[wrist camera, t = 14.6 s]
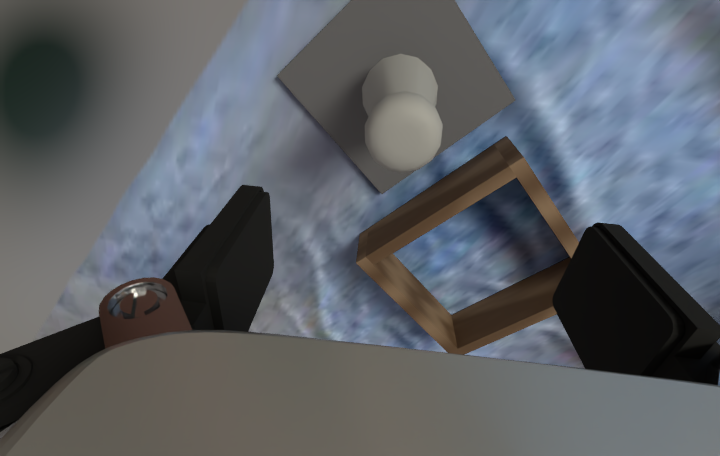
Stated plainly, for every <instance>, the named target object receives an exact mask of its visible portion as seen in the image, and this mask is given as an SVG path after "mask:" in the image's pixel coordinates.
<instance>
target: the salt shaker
mask: <svg viewBox="0 0 720 456" xmlns="http://www.w3.org/2000/svg"><path fill="white" fill-rule="evenodd" d="M437 90H438V85H437V83H436V80H435V77H434V75H433V72H432V70H431V69H430V68H429V67H428V66H427V65H426V64H425V63H424V62H422V61H421V60H420V59H419V58H417V57H413V56H409V55H404V54H398V55H394V56H390V57H386V58H383V59H382V60H381V61H380V62H378V63H377V64H376V65H375V66H374V67H373V68H372V69H371V70H370V71H369V73H368V75H367V77H366V80H365V82H364V84H363V86H362V97H363V106H364V108H365V110H366V112H367V115H368V119H367V121H366V123H365V143H366V146H367V148H368V150H369V152H370V154H371V156H372V158H373V160H374V161H375V162H377V163H378V164H380V165H381V166H382V167H384V168H385V169H386V170H391V171H395V172H400V173H405V172H409V171H414V170H418V169H420V168H421V167H423V166H424V165H426V164H427V163H429V162H430V161H431V160H432V159H433V158H434V156H435V154H436V152H437V151H438V149H439V147H440V145H441V137H442V128H443V124H442V122H441V119H440V117H439V114H438V112H437V110H436V108H435V106H436V102H437Z"/></svg>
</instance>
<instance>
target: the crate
mask: <svg viewBox="0 0 720 456" xmlns="http://www.w3.org/2000/svg"><path fill="white" fill-rule="evenodd" d="M516 177H517V179H518V180H519V182H520V183H521V185H522V186H523V188H524V189H525V191H526V192H527V194H528V195H529V197H530V198H531V200H532V201H533V203H534V204H535V206H536V207H537V209H538V210H539V211H540V213H541V214H542V216H543V217H544V219H545V220H546V222H547V223H548V225H549V226H550V228H551V229H552V231H553V232H554V234H555V235H556V237H557V238H558V240H559V241H560V243H561V244H562V246H563V247H564V248H565V250H566V251H567V253H568V254H569V256H570V257H569V258H567V259H565V260H563V261H561V262H559V263H557V264H555V265H553V266H551V267H549V268H547V269H545V270H542V271H540V272H538V273H536V274H534V275H532V276H530V277H528V278H526V279H524V280H522V281H520V282H518V283H516V284H514V285H512V286H510V287H508V288H506V289H504V290H502V291H500V292H498V293H496V294H494V295H492V296H490V297H488V298H485V299H483V300H481V301H479V302H477V303H475V304H473V305H471V306H469V307H467V308H465V309H463V310H461V311H459V312H457V313H455V314H453V315H451V314H450V313H449V312H448V311H447V310H446V309H445V308H444V307H443V306H442V305H441V304H440V303H439V302H438V301H437V300H436V299H435V298H434V297H433V295H432V294H431V293H430V292H429V291H428V290H427V289H426V288H425V287H424V286H423V285H422V284H421V283H420V282H419V281H418V280H417V279H416V278H415V277H414V276H413V274H412V273H411V272H410V271H409V270H408V269H407V268H406V267H405V266H404V265H403V264H402V263H401V262H400V261H399V260H398V259H397V258H396V257H395V256H394V255H393V253H394V252H396V251H397V250H399V249H401V248H402V247H404V246H405V245H407V244H409V243H410V242H412V241H414V240H415V239H417V238H419V237H420V236H422V235H423V234H425V233H427V232H428V231H430V230H432V229H433V228H435V227H436V226H438V225H440V224H441V223H443V222H445V221H446V220H448V219H449V218H451V217H453V216H454V215H456V214H458V213H459V212H461V211H463V210H464V209H466V208H467V207H469V206H471V205H472V204H474V203H476V202H477V201H479V200H480V199H482V198H484V197H485V196H487V195H489V194H490V193H492V192H494V191H495V190H497V189H498V188H500V187H502V186H503V185H505V184H507V183H508V182H510V181H511V180H513V179H515V178H516ZM578 244H579V242H578V240H577V239H576V237H575V236H574V234H573V233H572V231H571V230H570V228H569V226H568V225H567V223H566V222H565V220H564V219H563V217H562V216H561V214H560V213H559V211H558V209H557V208H556V206H555V205H554V203H553V202H552V200H551V199H550V197H549V196H548V194H547V192H546V191H545V189H544V188H543V186H542V185H541V183H540V182H539V180H538V179H537V177H536V175H535V174H534V172H533V171H532V169H531V168H530V166H529V165H528V163H527V162H526V160H525V158H524V157H523V156H522V154H521V153H520V152H519V151H518V150H517V148H516V147H515V146H514V145H513V143H512V142H511V141H510V140H509V139H508V137H507V136H506V137H504V138H503V139H501V140H500V141H498V142H497V143H495V144H494V145H492V146H491V147H489V148H488V149H486V150H485V151H483V152H482V153H480V154H479V155H477V156H476V157H474V158H473V159H471V160H470V161H468V162H467V163H465V164H464V165H462V166H461V167H459V168H458V169H456V170H455V171H453V172H452V173H450V174H449V175H447V176H446V177H444V178H443V179H441V180H440V181H438V182H437V183H435V184H434V185H432V186H431V187H429V188H428V189H426V190H425V191H423V192H422V193H420V194H419V195H417V196H416V197H414V198H413V199H411V200H410V201H408V202H407V203H405V204H404V205H402V206H401V207H399V208H398V209H396V210H395V211H393V212H392V213H390V214H389V215H387V216H386V217H384V218H383V219H381V220H380V221H379V222H377V223H376V224H374V225H373V226H371V227H370V228H368V229H367V230H365V231H364V232H362V233H361V234H360V236H359V244H358V251H357V259H356V263H357V264H358V265H359V266H360V267H361V268H362V269H363V270H364V271H365V272H366V273H367V274H368V275H369V276H370V277H371V278H372V279H373V280H374V281H375V282H376V283H377V284H378V285H379V286H380V287H381V288H382V289H383V290H384V291H385V292H386V293H387V294H388V295H389V296H390V297H391V298H392V299H393V300H394V301H395V302H397V303H398V304H399V305H400V306H401V307H402V308H403V309H404V310H405V311H406V312H407V313H408V314H409V315H410V316H411V317H412V318H413V319H414V320H415V321H416V322H417V323H418V324H419V325H420V326H421V327H422V328H423V329H424V330H425V331H426V332H427V333H428V334H429V335H430V336H431V337H432V338H433V339H434V340H435V341H437V342H438V343H439V344H440V345H441V346H442V347H443V348H444V349H445V350H446V351H447V352H448V353H452V354H461V355H464V354H466V353H469V352H471V351H473V350H476V349H478V348H480V347H482V346H485V345H487V344H489V343H492V342H494V341H496V340H499V339H501V338H503V337H505V336H508V335H510V334H512V333H515V332H517V331H519V330H522V329H524V328H526V327H528V326H531V325H533V324H535V323H538V322H540V321H542V320H545V319H547V318H549V317H551V316H554V315H556V314H557V313H556V311H555V309H554V307H553V303H552V299H553V295H554V292H555V290H556V288H557V286H558V284H559V282H560V280H561V278H562V276H563V274H564V272H565V270H566V268H567V266H568V264H569V262H570V260H571V258H572V256H573V254H574V252H575V250H576V248H577V246H578Z"/></svg>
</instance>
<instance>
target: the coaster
mask: <svg viewBox="0 0 720 456" xmlns="http://www.w3.org/2000/svg"><path fill="white" fill-rule="evenodd" d="M398 54H404V55H409V56H413V57H417V58H419V59H420V60H421V61H422V62H424V63H425V64H426V65H427V66H428V67H429V68H430V69H431V70H432V72H433V75H434V77H435V80H436V83H437V85H438V90H437V102H436V106H435V108H436V110H437V112H438V114H439V117H440V119H441V122H442V124H443V128H442V137H441V145H440V147H439V149H438V151H437V152H436V154H435V156H434V157H436V156H437V155H438V154H440V153H441V152H443V151H444V150H445V149H447V148H448V147H450V146H451V145H453V144H454V143H455V142H457V141H458V140H460V139H461V138H463V137H464V136H465V135H467V134H468V133H470V132H471V131H472V130H474V129H475V128H477V127H478V126H480V125H481V124H482V123H484V122H485V121H487V120H488V119H490V118H491V117H492V116H494V115H495V114H497V113H498V112H499V111H501V110H502V109H504V108H505V107H507V106H508V105H509V104H511V103H512V102H514V101H515V98H514V97H513V95H512V94H511V92H510V90H509V89H508V87H507V85H506V84H505V82H504V80H503V79H502V77H501V75H500V74H499V72H498V71H497V69H496V67H495V66H494V64H493V62H492V61H491V59H490V57H489V56H488V54H487V53H486V51H485V49H484V48H483V46H482V44H481V43H480V41H479V39H478V38H477V36H476V34H475V33H474V31H473V30H472V28H471V26H470V25H469V23H468V21H467V20H466V18H465V16H464V15H463V13H462V12H461V10H460V8H459V7H458V5H457V3H456V2H455V0H351V1H350V2H349V3H348V4H347V5H346V6H345V7H344V8H343V9H342V10H341V11H340V12H339V13H338V14H337V15H336V16H335V18H334V19H333V20H332V21H331V22H330V23H329V24H328V25H327V26H326V27H325V28H324V29H323V30H322V31H321V32H320V33H319V34H318V35H317V36H316V37H315V38H314V39H313V40H312V41H311V42H310V43H309V44H308V45H307V46H306V47H305V48H304V49H303V50H302V51H301V52H300V53H299V54H298V55H297V56H296V57H295V58H294V59H293V60H292V61H291V62H290V63H289V64H288V65H287V66H286V67H285V68H284V69H283V70H282V71H281V72H280V73H279V74H278V75H277V76H278V78H279V79H280V80H281V81H282V82H283V83H284V84H285V85H286V87H287V88H288V89H289V90H290V91H291V92H292V93H293V94H294V96H295V97H296V98H297V99H298V100H299V101H300V102H301V104H302V105H303V106H304V107H305V108H306V109H307V110H308V111H309V113H310V114H311V115H312V116H313V117H314V118H315V119H316V120H317V122H318V123H319V124H320V125H321V126H322V127H323V128H324V129H325V131H326V132H327V133H328V134H329V135H330V136H331V137H332V139H333V140H334V141H335V142H336V143H337V144H338V145H339V146H340V148H341V149H342V150H343V151H344V152H345V153H346V154H347V155H348V157H349V158H350V159H351V160H352V161H353V162H354V163H355V164H356V166H357V167H358V168H359V169H360V170H361V171H362V172H363V173H364V175H365V176H366V177H367V178H368V179H369V180H370V181H371V183H372V184H373V185H374V186H375V187H376V188H377V189H378V190H379V192H380V193H381V194H383V193H384V192H386V191H387V190H389V189H390V188H391V187H393V186H394V185H396V184H397V183H399V182H400V181H401V180H403V179H404V178H406V177H407V176H408V175H410V174H411V173H413V172H414V171H416V170H414V171H409V172H405V173H400V172H395V171H391V170H386V169H385V168H384V167H382V166H381V165H380V164H378V163H377V162H375V161H374V160H373V158H372V156H371V154H370V152H369V150H368V148H367V146H366V143H365V123H366V121H367V119H368V115H367V112H366V110H365V108H364V106H363V97H362V86H363V84H364V82H365V80H366V77H367V75H368V73H369V71H370V70H371V69H372V68H373V67H374V66H375V65H376V64H377V63H378V62H380V61H381V60H382V59H383V58H386V57H390V56H394V55H398Z"/></svg>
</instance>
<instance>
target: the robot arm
mask: <svg viewBox="0 0 720 456" xmlns="http://www.w3.org/2000/svg"><path fill="white" fill-rule="evenodd" d="M273 268H274V259H273V243H272V226H271V210H270V196H269V193H268V192H264V191H263V188H262V187H258V186H248V185H242V186H240V188H239V189H238V190H237V191H236V193H235V194H234V195H233V197H232V198H231V199H230V200H229V202H228V203H227V204H226V205H225V207H224V208H223V209H222V210H221V212H220V213H219V214H218V215H217V217H216V218H215V219H214V220H213V222H212V223H211V224H210V225H206V226H205V227H204V228H203V229H202V231H201V232H200V233H199V234H198V236H197V237H196V238H195V239H194V241H193V242H192V243H191V244H190V245H189V247H188V248H187V249H186V250H185V252H184V253H183V254H182V255H181V257H180V258H179V259H178V260H177V262H176V263H175V264H174V265H173V266H172V268H171V269H170V270H169V271H168V273H167V274H166V275H165V276H164V278H163V279H160V278H141V279H136V280H132V281H129V282H127V283H124V284H122V285H120V286H118V287H116V288H115V289H113V290H112V291H110V292H109V293H108V294H107V295H106V296H105V297H104V298H103V300H102V302H101V303H100V305H99V317H97V318H94V319H92V320H89V321H86V322H84V323H81V324H78V325H76V326H73V327H70V328H68V329H65V330H63V331H60V332H57V333H55V334H52V335H49V336H47V337H44V338H42V339H39V340H36V341H34V342H31V343H28V344H26V345H23V346H20V347H18V348H15V349H13V350H10V351H7V352H5V353H2V354H0V456H720V345H719V344H718V343H717V342H716V341H717V340H718V339H719V338H720V325H719V324H718V323H717V322H716V321H715V320H714V319H713V318H712V317H711V316H710V315H709V314H708V313H707V312H706V311H705V310H704V309H703V308H702V307H701V306H700V305H699V304H698V303H697V302H696V301H695V300H694V299H693V298H692V297H691V296H690V295H689V294H688V293H687V292H686V291H685V290H684V289H683V288H682V287H681V286H680V285H679V284H678V283H677V282H676V281H675V280H674V279H673V278H672V277H671V276H670V275H669V274H668V273H667V272H666V271H665V270H664V269H663V268H662V267H661V266H660V265H659V264H658V263H657V261H656V260H655V259H654V258H653V257H652V256H651V255H650V254H649V253H648V252H647V251H646V250H645V249H644V248H643V247H642V246H641V245H640V244H639V243H638V242H637V241H636V240H635V239H634V238H633V237H632V236H631V235H630V234H629V233H628V232H627V231H626V230H625V229H624V228H623V227H622V226H620V225H616V224H607V223H595V224H594V225H593V226H592V227H588V228H587V229H586V230H585V232H584V234H583V236H582V238H581V240H580V242H579V244H578V246H577V248H576V250H575V252H574V254H573V256H572V258H571V260H570V262H569V264H568V266H567V268H566V270H565V272H564V274H563V276H562V278H561V280H560V282H559V284H558V286H557V288H556V290H555V292H554V295H553V299H552V303H553V307H554V309H555V311H556V313H557V315H558V317H559V319H560V320H561V322H562V324H563V326H564V328H565V330H566V332H567V334H568V336H569V338H570V340H571V342H572V344H573V346H574V348H575V350H576V351H577V353H578V355H579V357H580V359H581V361H582V363H583V365H584V367H585V369H583V368H574V367H566V366H557V365H548V364H540V363H531V362H522V361H514V360H505V359H496V358H487V357H479V356H470V355H461V354H452V353H443V352H435V351H426V350H417V349H408V348H399V347H390V346H381V345H372V344H363V343H353V342H344V341H335V340H326V339H317V338H307V337H298V336H289V335H280V334H269V333H256V332H248V330H249V328H250V325H251V323H252V321H253V318H254V316H255V314H256V311H257V309H258V307H259V305H260V302H261V300H262V298H263V295H264V293H265V291H266V288H267V286H268V284H269V281H270V279H271V277H272V274H273Z"/></svg>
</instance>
